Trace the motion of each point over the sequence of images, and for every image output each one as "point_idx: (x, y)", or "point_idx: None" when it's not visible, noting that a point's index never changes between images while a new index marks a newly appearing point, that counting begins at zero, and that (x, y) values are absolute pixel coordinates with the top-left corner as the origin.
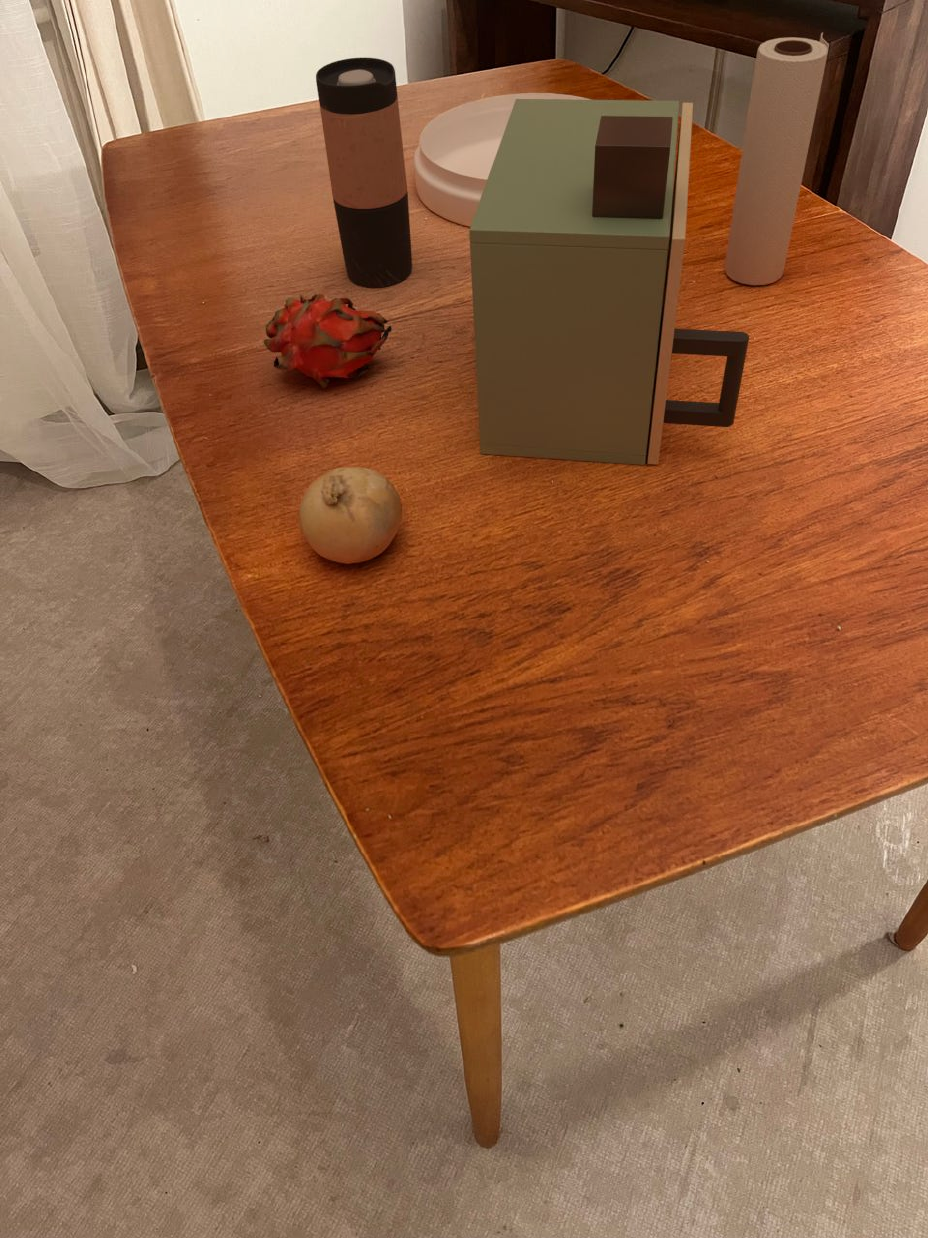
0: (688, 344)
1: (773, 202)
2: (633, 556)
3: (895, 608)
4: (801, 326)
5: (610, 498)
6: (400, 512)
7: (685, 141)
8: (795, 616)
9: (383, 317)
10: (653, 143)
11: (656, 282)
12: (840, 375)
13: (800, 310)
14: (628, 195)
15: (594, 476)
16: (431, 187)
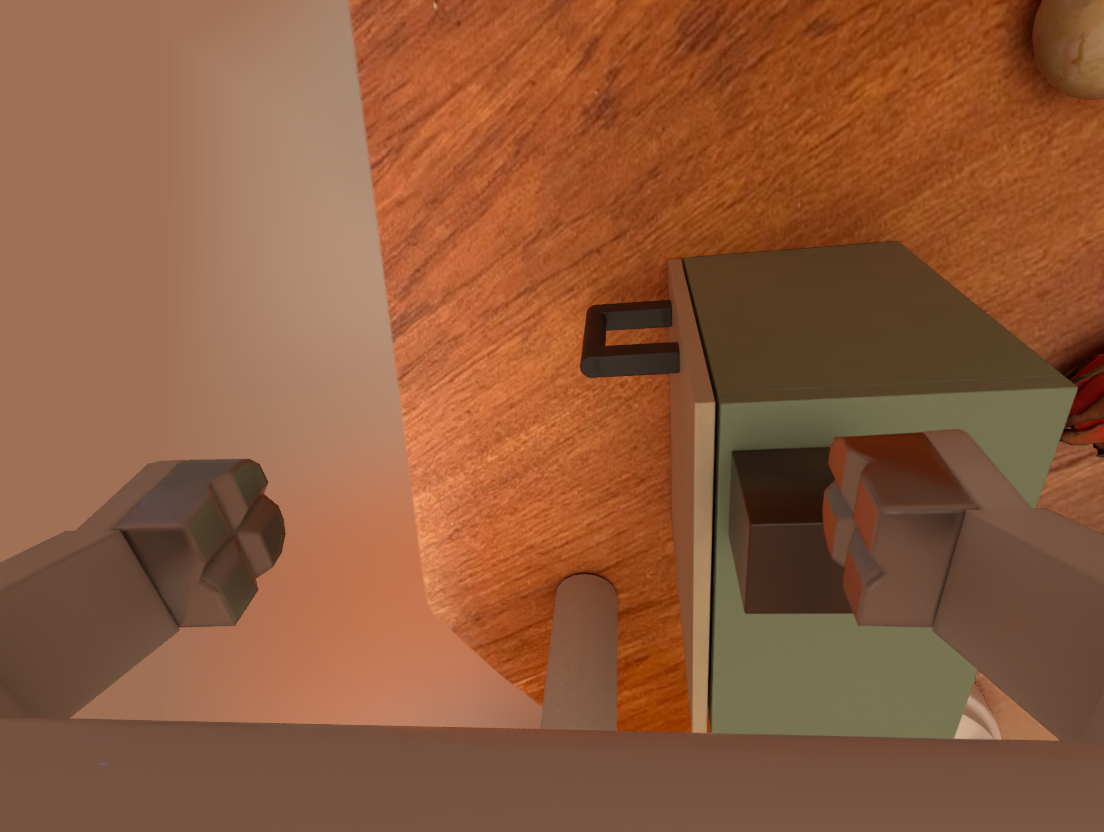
0: (657, 349)
1: (573, 648)
2: (687, 79)
3: (380, 59)
4: (529, 516)
5: (722, 187)
6: (1044, 24)
7: (700, 649)
8: (485, 12)
9: (1062, 440)
10: (779, 532)
11: (723, 366)
12: (482, 444)
13: (533, 540)
14: (798, 469)
15: (744, 225)
16: (977, 697)
